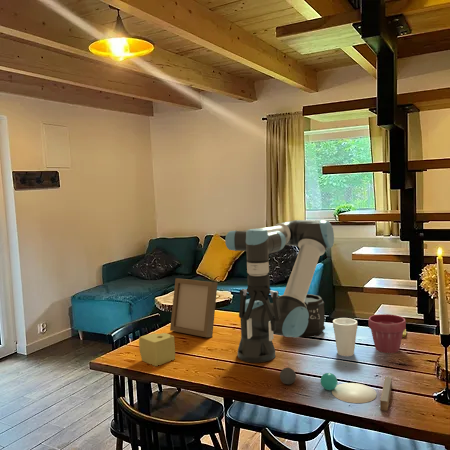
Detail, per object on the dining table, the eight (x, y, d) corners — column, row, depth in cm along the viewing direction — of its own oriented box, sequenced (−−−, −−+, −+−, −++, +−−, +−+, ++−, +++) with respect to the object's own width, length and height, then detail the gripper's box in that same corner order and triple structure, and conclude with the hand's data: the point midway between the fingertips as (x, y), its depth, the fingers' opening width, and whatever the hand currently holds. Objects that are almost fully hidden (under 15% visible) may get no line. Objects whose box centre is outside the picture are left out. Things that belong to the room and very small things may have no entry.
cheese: (160, 353, 194) (159, 330, 193) (177, 359, 186) (175, 335, 185) (139, 361, 187) (138, 336, 186) (155, 367, 179) (154, 342, 178)
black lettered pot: (296, 323, 227) (295, 291, 225) (330, 328, 216) (330, 295, 215) (277, 333, 212) (276, 300, 211) (314, 340, 202) (313, 304, 200)
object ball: (319, 391, 153) (318, 375, 152) (322, 384, 158) (322, 369, 157) (336, 394, 151) (335, 377, 150) (338, 387, 156) (338, 371, 155)
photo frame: (206, 339, 208) (204, 284, 206) (170, 332, 221) (167, 280, 219) (225, 330, 220) (223, 278, 218) (189, 324, 233) (187, 274, 231)
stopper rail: (380, 410, 139) (380, 400, 139) (385, 385, 156) (385, 376, 155) (387, 411, 138) (387, 401, 138) (391, 385, 155) (391, 377, 155)
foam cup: (358, 358, 180) (358, 325, 178) (334, 357, 182) (333, 324, 180) (356, 349, 189) (356, 318, 188) (333, 348, 191) (332, 317, 190)
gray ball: (278, 386, 158) (277, 370, 158) (282, 379, 163) (282, 364, 163) (293, 388, 156) (293, 372, 156) (298, 381, 161) (297, 366, 161)
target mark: (328, 399, 147) (328, 398, 147) (335, 381, 160) (335, 380, 160) (374, 406, 142) (374, 405, 142) (378, 386, 155) (378, 386, 155)
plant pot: (370, 341, 197) (370, 312, 196) (406, 345, 191) (406, 314, 190) (367, 354, 184) (366, 322, 182) (405, 357, 178) (405, 325, 177)
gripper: (227, 274, 161) (229, 339, 163) (283, 277, 153) (285, 345, 155) (235, 270, 168) (237, 332, 170) (289, 272, 160) (291, 337, 162)
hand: (260, 338), depth 162 cm, fingers open, 7 cm apart
